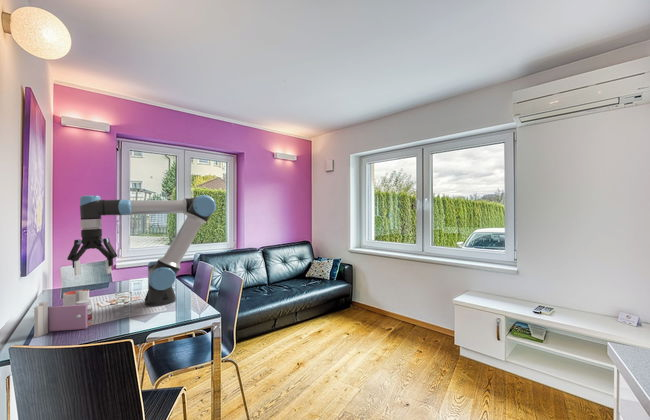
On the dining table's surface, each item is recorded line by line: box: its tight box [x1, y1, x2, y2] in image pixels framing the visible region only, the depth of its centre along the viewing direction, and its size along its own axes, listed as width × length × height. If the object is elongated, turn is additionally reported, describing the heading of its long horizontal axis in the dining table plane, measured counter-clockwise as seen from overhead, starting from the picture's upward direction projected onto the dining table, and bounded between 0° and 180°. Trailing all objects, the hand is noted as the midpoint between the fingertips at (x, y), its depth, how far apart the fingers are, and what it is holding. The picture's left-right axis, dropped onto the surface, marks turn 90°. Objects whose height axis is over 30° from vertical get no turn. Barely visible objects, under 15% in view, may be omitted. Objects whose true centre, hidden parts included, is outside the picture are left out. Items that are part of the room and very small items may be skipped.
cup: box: [62, 289, 90, 306], centre depth 144 cm, size 10×10×10 cm
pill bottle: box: [76, 299, 93, 327], centre depth 125 cm, size 6×6×11 cm
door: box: [48, 304, 89, 333], centre depth 120 cm, size 3×15×10 cm, turn 100°
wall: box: [33, 289, 87, 338], centre depth 126 cm, size 2×25×13 cm, turn 2°
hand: (93, 274), depth 132 cm, fingers open, 13 cm apart
